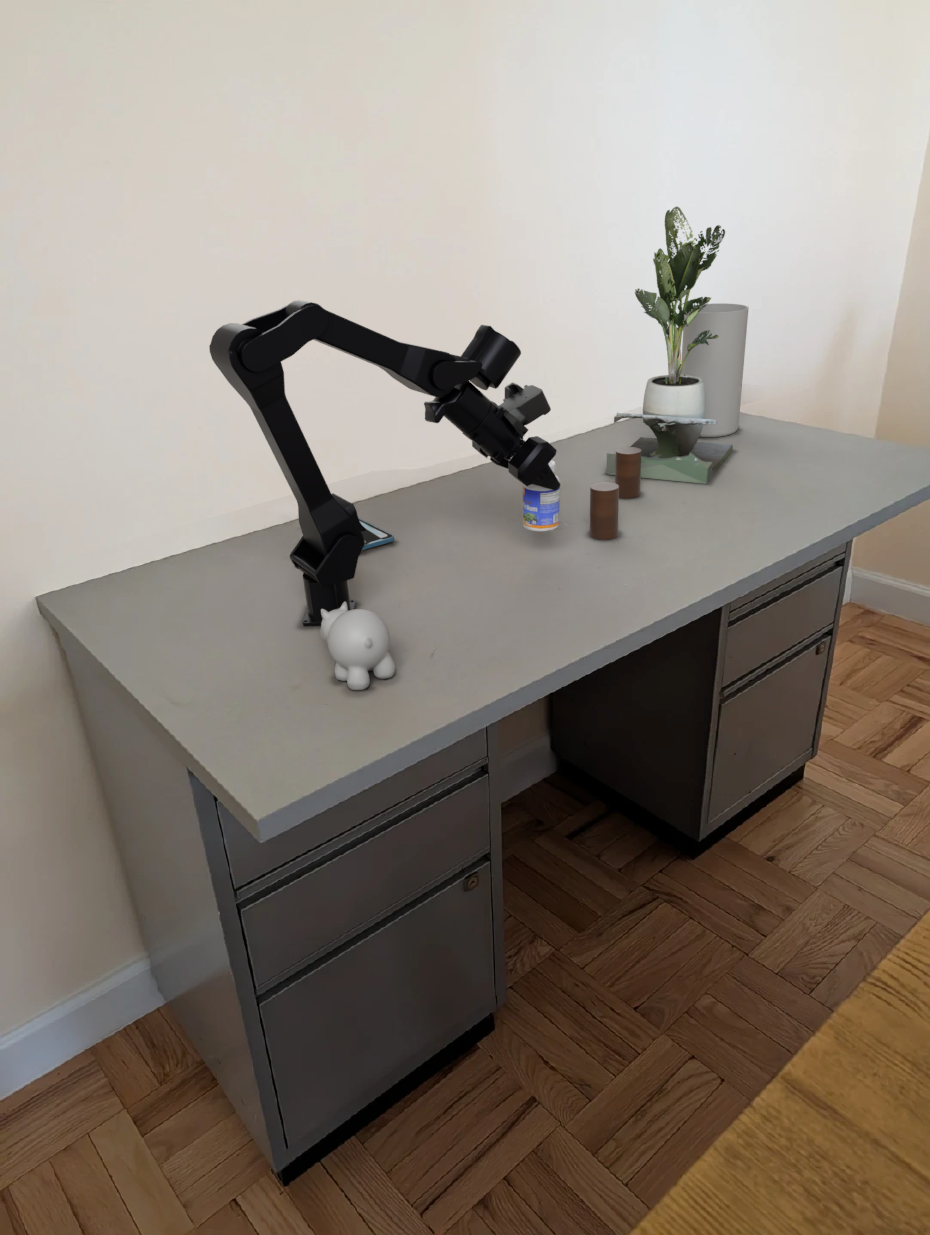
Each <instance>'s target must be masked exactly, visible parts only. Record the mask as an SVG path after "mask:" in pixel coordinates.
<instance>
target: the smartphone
mask: <svg viewBox="0 0 930 1235" xmlns="http://www.w3.org/2000/svg"><path fill="white" fill-rule="evenodd" d="M358 519H359V521H360V523H361V524H362V526H363V527H365V528H366V531H361V532H362V533H363V536H364V540H365V546H364V547H363V549H362V551H365V550H368V549H371V548H374V547H375V548H376V547H378V546H382V545H385V544H388V543H392V542H393V541H394V540H395V536H394V534H392V533H390V532H388V531H386V530H384V529H382V528H380V527H378V526H377V525H374V524H372V523H370V522H368V521H366V520H364V519H363V518H360V517H358Z"/></svg>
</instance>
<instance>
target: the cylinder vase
mask: <svg viewBox="0 0 930 1235" xmlns="http://www.w3.org/2000/svg"><path fill="white" fill-rule="evenodd" d="M706 304H707V303H706ZM706 304H705V305H706ZM693 306H694V304H693ZM703 306H704V305H703ZM700 307H701V308H702V306H700ZM692 310H693V309H691V312H692ZM699 310H700V309H699ZM691 312H690V311H689V312H688V315H685V314H684V321H685V320H686V319H687V317H688V316H689V313H691ZM697 313H698V312H697ZM686 314H687V313H686ZM748 320H749V306H747V305H745V304H740V303H708V304H707V306H705V307H703V309H702V310H701V311H700V312H699V313H698V314H697V316H696V318H695V319H694V320H693V321H692V322H691V323H690V324H689V325H688V326H687V325H686V324H685V327H684V329H683V331H682V341H681V363H682V362H683V360H684V358H685V356H686V354H687V353H688V351H687V350H688V349H690V348H688V349H687V346H688V344H690V343H692V342H693V341H694V339H695V338H696V337H698V335H699V336H700V333H701V332H703V331H708V330H710V332H709V333H708V332H707V333H708V335H710V334H711V333H712V336H710V337H713V336H715V335H718V336H719V337H718V336H717V337H718V338H716V339H706V340H707V342H708V344H709V345H707V344H706V343H704V344H698V345H697V346H695V347H694V348H693V349H691V351H690V352H689V354H688V356H687V358H686V360H685V362H684V365H683V368H682V371H681V375H684V374H683V373H685V375H690V376H696V377H700V378H702V379H703V381H704V386H705V417H704V419H713V420H717V424H708V425H703V427H702V431H701V433H700V436H699V438H720V437H726V436H730V435H733V434H735V433H736V432H738V430H739V427H740V426H739V425H740V416H741V415H740V414H741V400H742V390H743V377H744V367H745V355H746V343H747V332H748V330H747V329H748ZM686 326H687V327H686ZM708 335H707V336H708ZM707 336H706V337H707ZM702 337H703V334H702ZM699 339H701V338H700V337H699ZM694 344H695V343H694ZM681 363H680V364H681Z"/></svg>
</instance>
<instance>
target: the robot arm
mask: <svg viewBox="0 0 930 1235" xmlns="http://www.w3.org/2000/svg"><path fill="white" fill-rule="evenodd" d="M312 341H315V342H317V343H319V344H322V345H325V346H327V347H329V348H332V349H334V350H337V351H339V352H341V353H344V354H347V355H349V356H351V357H354V358H356V359H359V360H361V361H364V362H366V363H369V364H372V365H374V366H377V367H378V368H380V369H381V370H382V371H384V372H386V373H387V374H388V375H389V376H390V377H391V378H392V379H394V380H395V381H397V382H398V383H399V384H402V385H403V386H404V387H406V388H408V389H409V390H411V391H414V392H418V393H420V394H424V395H428V396H431V397H434V398H433V400H430V401H424V403H423V406H424V420H425V421H426V422H428V423H434V424H439V423H440V422H441V421H442V420H443V418H445V419H447V420H448V422H450V423H451V424H452V425H453V426H454V427H456V428H457V429H458V430H459V431H460V432H462V434H463V435H464V436H465V437H466V438H467V439H468V440H470V441H471V445H472V448H473V449H474V450H475V451H477V453H479V454H480V455H481V456H483V457H484V458H486V459H488V457H490V458H489V461H491V462H492V463H493V464H495V465H497V466H499V467H502V468H505V469H507V470H508V474H510V475H511V476H513V477H514V478H515V479H516V480H517V481H519V483H521V484H522V485H523V484H524V485H526V486H529V485H531V484H533V485H537V486H541V487H545V488H548V489H552V490H557V489H558V488H559V487H560V488H561V482H560V483H559V481H558V479H557V478H556V476H557V475H556V474H555V473H553V471H552V470H551V468H550V466H549V465H548V463H549V462H550V461H551V460H553V459H554V458H555V456H556V455H557V452H558V450H557V449H556V448H555V447H554V446H553V445H552V444H551V443H550V442H549V441H547V440H545V439H543V438H542V437H540V436H538V435H537V436H536V435H535V436H529V437H528V438H527V439H526V440H525V439H524V437H525V435H526V434H527V433H528V431H529V429H528V428H527V426H528V425H529V424H531V423H532V422H534V421H535V420H537V419H539V418H540V417H542V416H546V415H548V414H549V413H550V412H551V410H552V409H551V405H550V403H549V402H548V400H547V397H546V395H545V393H544V391H543V389H542V388H540V387H539V386H535V385H533V384H530V385H528V384H525V385H524V386H523V387H524V388H523V387H522V386H521V385H519V384H518V383H515V382H511V383H509V384H507V385H505V387H504V398H503V399H502V401H503V402H502V403H500V404H499V405H498V404H497V403H496V402H495V401H493V400H491V399H490V398H488V396H486V395H485V394H484V393H483V392H482V391H481V390H483V391H488V390H489V388H491V389H498V388H499V387H500V386H501V384H502V383H503V381H504V379H505V378H506V377H507V375H508V374H509V372H510V371H511V370H512V368H513V366H514V365H515V364H516V362H517V361H518V359H519V358H520V356H521V355H522V351H521V349H520V347H519V345H517V343H515V341H513V340H510V339H509V338H507V336H505V335H503V334H502V333H500V332H499V331H496V330H495V329H494V328H493V326H491V325H488V324H481V325H480V326H479V327H478V328H477V330H476V332H475V334H474V336H473V338H472V339H471V341H470V342H469V344H468V345H467V346H466V348H465V350H464V351H463V352H462V354H461V355H457V354H453V353H452V354H451V353H449V352H448V351H443V350H438V349H435V348H430V347H426V346H420V345H416V344H411V343H406V342H402V341H398V340H395V339H393V338H391V337H389V336H387V335H385V334H382V333H381V332H377V331H375V330H373V329H370V328H368V327H366V326H364V325H361V324H359V323H357V322H354V321H352V320H351V319H348V318H345V317H343V316H341V315H338V314H336V313H333V312H331V311H329V310H327V309H325V308H324V307H323V306H322V305H320V304H319V303H316V302H311V301H307V300H301V299H297V300H293V301H292V302H290V303H288V304H286V305H284V306H282V307H281V308H278V309H276V310H273V311H270V312H268V313H265V314H262V315H260V316H256V317H253V318H251V319H249V320H246V321H245V322H243V323H238V322H237V323H236V322H229V323H226V324H223V325H221V326H220V327H219V328H217V329H216V331H214V333H213V335H212V337H211V340H210V344H209V354H210V356H211V361H213V363H214V364H215V367H217V369H218V370H219V371H220V372H221V374H222V375H223V377H224V378H225V380H226V381H227V382H228V384H229V385H230V386H231V387H232V388H233V389H234V391H236V392H237V394H238V395H239V396H240V397H241V398H242V399H243V400H244V401H245V403H246V404H247V405H248V407H249V408H250V410H251V412H252V414H253V416H254V418H255V420H256V422H257V424H258V426H259V428H260V430H261V433H262V434H263V436H264V439H265V440H266V441H267V444H268V446H269V448H270V450H271V453H272V454H273V456H274V459H275V460H276V462H277V464H278V466H279V468H280V470H281V472H282V474H283V476H284V478H285V480H286V483H287V484H288V486H289V488H290V490H291V492H292V495H293V496H294V498H295V501H296V504H297V508H298V510H297V512H298V515H297V516H298V523H299V527H300V530H301V534H302V536H301V538H300V539H299V541H298V542H297V543H296V544H295V547H294V548H293V549H292V551H291V552H290V554H289V555H288V556H289V559H290V561H291V562H292V565H293V566H294V568H295V569H297V570H299V571H301V572H302V580H303V588H304V596H305V602H306V610H305V613H304V616H303V618H302V621H301V623H302V626H305V627H309V626H321V623H322V620H323V618H322V615H321V609H324V610H326V611H328V612H330V611H332V610H336V609H339V608H340V607H341V606H342V604H343V603H344V602H345V601H346V603H347V606H348V611H349V610H353V609H356V606H357V601H356V599H350V591H349V585H348V581H349V580H353V579H354V578H355V575H356V570H357V565H358V561H359V557H360V555H361V554H362V552H363V550H362V549H363V547H364V546H365V540H364V536H363V533H362V532H361V531H366V528H365V527H363V526H362V524H361V523H360V521H359V519H358V518H359V516H358V511H357V509H356V507H355V504H354V503H352V502H351V501H348V500H347V499H345V498H344V497H341V496H340V495H337V494H336V493H334V492H333V493H332V492H331V490H330V488H329V486H328V483H327V481H326V479H325V477H324V475H323V473H322V470H321V469H320V467H319V465H318V462H317V460H316V458H315V456H314V453H313V451H312V449H311V447H310V445H309V444H308V441H307V439H306V437H305V435H304V432H303V430H302V427H301V426H300V424H299V421H298V419H297V417H296V416H295V413H294V411H293V409H292V407H291V405H290V402H289V401H288V398H287V395H286V388H285V387H286V385H285V384H286V383H285V371H284V368H283V363H282V362H283V361H285V360H287V359H289V358H291V357H292V356H294V355H295V354H296V353H297V352H298V351H300V350H301V349H302V348H303V347H304V346H305V345H307V344H308V343H310V342H312ZM480 389H481V390H480ZM555 475H556V476H555Z"/></svg>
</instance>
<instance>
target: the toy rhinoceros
mask: <svg viewBox="0 0 930 1235" xmlns="http://www.w3.org/2000/svg"><path fill="white" fill-rule="evenodd" d="M321 615H322V618H323V620H322V623H321V625H320V629H319V631H320V632H319V633H320V636H321V638H322V640H324V641H325V642H326V643H327V648H328V651H329V654H330V656H331V657H332V658H333V660H334V661H335V664H334V675H335V678H336V679H337V681H342V682H346V683H347V687H348V688H349V689H350V690H352V691H363V690H365V689H367V688H368V687H369V686H370V683H371V680H370V675H369V672H373V675H374V676H375V678H377V679H379V680H383V679H389V678H392V677H393V676H394V674H395V673H396V665H395V662H394V660H393V657H392V656H391V654H390V653H389V649H390V645H391V636H390V631H389V627H388V625H387V624H386V622H385V621H384V619H383V618H382V617H381V616H379V615H378V614H377V613H375V612H373V611H372V610H369V609H364V608H355V609H353V610H349V611H348V606H347V603H346V601H345V602H344V603H343V604H342V606H341V607H340V608H339V609H336V610H332V611H330V612H328V611H326V610H324V609H321Z"/></svg>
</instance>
